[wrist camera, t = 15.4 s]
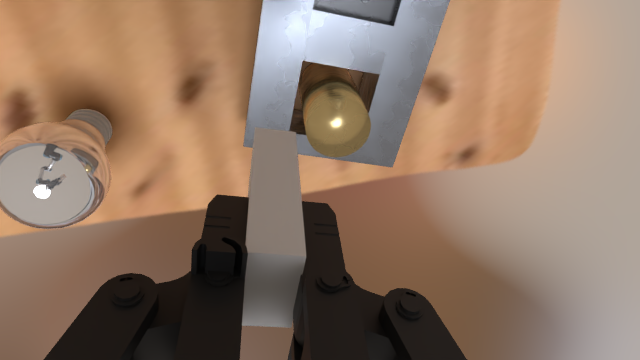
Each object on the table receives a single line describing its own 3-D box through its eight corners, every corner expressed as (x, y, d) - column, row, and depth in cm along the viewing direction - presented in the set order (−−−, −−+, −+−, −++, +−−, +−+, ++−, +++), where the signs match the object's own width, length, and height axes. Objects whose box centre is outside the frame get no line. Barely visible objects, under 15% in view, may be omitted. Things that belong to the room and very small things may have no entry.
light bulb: (35, 130, 36) (-55, 220, 26) (68, 62, 34) (-18, 134, 24) (118, 171, 39) (65, 267, 29) (155, 111, 36) (110, 194, 26)
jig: (280, -135, 28) (282, -139, 25) (453, -89, 31) (479, -87, 27) (246, 121, 38) (243, 146, 34) (381, 141, 40) (392, 167, 36)
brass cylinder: (304, 54, 35) (312, 92, 28) (357, 64, 36) (378, 103, 29) (294, 106, 37) (300, 152, 30) (345, 114, 38) (361, 161, 31)
